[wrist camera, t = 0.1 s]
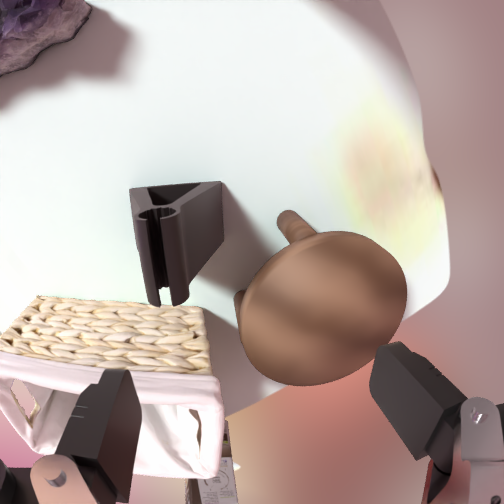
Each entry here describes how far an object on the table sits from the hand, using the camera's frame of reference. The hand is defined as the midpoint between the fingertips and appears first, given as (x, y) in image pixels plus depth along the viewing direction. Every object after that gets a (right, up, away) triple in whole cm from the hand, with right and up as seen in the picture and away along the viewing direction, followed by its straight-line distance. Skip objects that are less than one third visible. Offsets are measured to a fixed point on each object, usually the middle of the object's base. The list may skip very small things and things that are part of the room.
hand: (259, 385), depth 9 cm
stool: (+6, +1, +25) cm, 25 cm away
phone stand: (-8, +8, +20) cm, 23 cm away
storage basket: (-17, -8, +26) cm, 32 cm away
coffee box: (-8, -26, +34) cm, 44 cm away
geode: (-26, +28, +9) cm, 40 cm away
